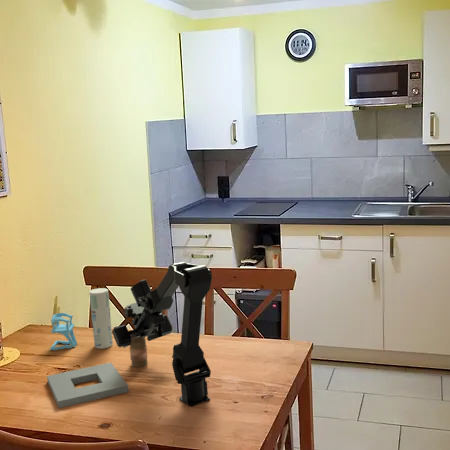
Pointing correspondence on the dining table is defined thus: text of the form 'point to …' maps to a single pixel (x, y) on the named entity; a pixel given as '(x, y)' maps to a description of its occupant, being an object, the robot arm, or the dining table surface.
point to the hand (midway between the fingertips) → (136, 343)
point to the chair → (63, 331)
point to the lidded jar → (138, 352)
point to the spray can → (101, 318)
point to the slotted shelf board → (70, 395)
